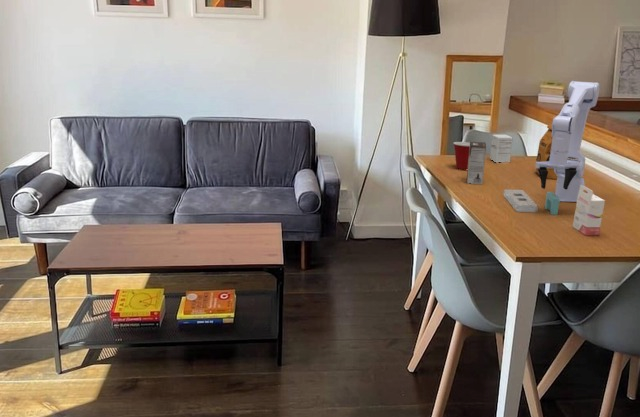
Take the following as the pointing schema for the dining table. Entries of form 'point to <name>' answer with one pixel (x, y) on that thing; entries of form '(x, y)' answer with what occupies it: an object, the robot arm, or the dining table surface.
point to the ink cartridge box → (588, 212)
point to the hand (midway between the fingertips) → (554, 188)
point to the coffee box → (476, 162)
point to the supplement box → (501, 148)
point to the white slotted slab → (520, 201)
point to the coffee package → (546, 152)
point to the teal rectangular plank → (552, 203)
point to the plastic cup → (462, 154)
